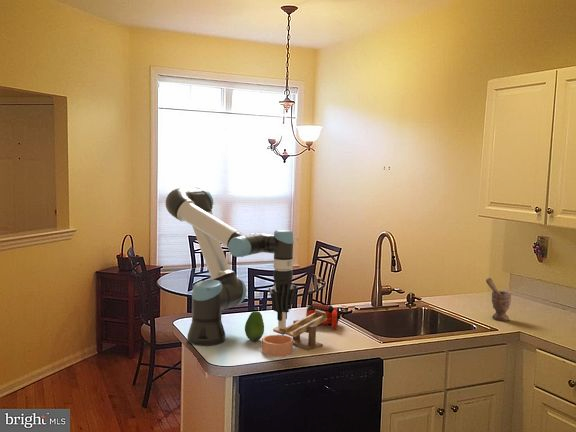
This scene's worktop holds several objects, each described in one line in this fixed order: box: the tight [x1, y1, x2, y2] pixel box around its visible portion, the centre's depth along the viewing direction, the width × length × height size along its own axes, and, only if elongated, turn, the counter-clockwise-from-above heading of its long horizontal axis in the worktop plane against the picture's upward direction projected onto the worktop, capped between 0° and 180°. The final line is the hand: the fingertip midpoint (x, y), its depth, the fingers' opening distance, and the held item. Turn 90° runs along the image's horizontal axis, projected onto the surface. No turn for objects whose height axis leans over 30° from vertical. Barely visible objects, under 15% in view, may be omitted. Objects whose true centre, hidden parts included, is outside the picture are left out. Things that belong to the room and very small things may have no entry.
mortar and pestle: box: [485, 277, 512, 322], centre depth 256 cm, size 12×9×20 cm
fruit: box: [244, 310, 265, 342], centre depth 215 cm, size 8×8×12 cm
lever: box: [272, 309, 327, 338], centre depth 214 cm, size 19×12×4 cm, turn 132°
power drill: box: [305, 303, 341, 331], centre depth 239 cm, size 15×9×15 cm
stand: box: [291, 319, 324, 351], centre depth 212 cm, size 8×13×8 cm, turn 41°
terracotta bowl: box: [261, 334, 294, 357], centre depth 203 cm, size 12×12×4 cm
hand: (281, 328), depth 211 cm, fingers closed
